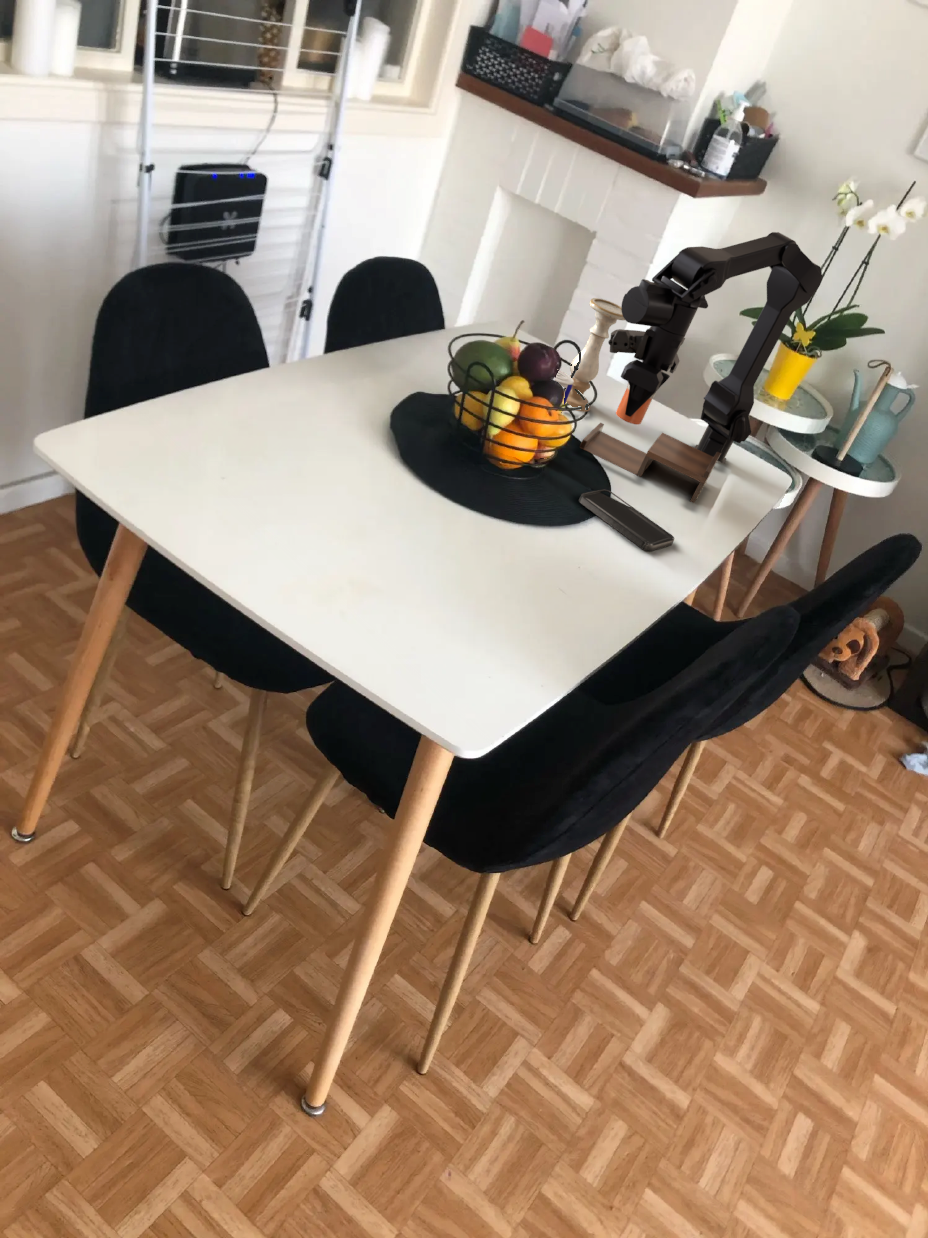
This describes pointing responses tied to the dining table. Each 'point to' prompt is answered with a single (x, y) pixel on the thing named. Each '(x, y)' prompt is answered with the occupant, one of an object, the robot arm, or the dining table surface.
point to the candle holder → (592, 349)
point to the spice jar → (638, 415)
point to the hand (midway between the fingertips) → (631, 411)
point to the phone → (627, 520)
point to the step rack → (652, 456)
